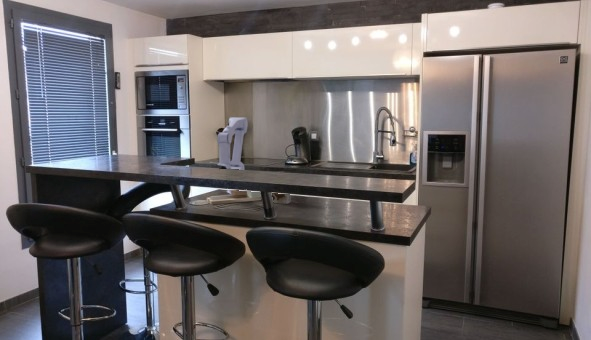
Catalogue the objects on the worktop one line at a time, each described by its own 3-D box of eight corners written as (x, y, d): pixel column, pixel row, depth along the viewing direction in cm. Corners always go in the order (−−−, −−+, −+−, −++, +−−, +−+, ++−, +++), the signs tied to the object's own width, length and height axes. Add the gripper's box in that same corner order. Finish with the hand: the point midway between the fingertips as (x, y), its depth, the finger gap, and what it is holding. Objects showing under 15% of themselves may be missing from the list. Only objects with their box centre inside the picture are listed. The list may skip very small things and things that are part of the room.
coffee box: (270, 202, 236) (270, 172, 234) (275, 200, 242) (275, 170, 240) (287, 204, 233) (287, 173, 231) (291, 201, 239) (291, 171, 237)
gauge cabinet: (246, 194, 248) (246, 187, 248) (258, 193, 251) (258, 186, 250) (251, 197, 241) (251, 190, 240) (263, 196, 244) (263, 189, 243)
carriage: (231, 196, 243) (231, 182, 242) (243, 194, 246) (243, 182, 245) (234, 198, 238) (234, 184, 237) (247, 197, 241) (247, 183, 240)
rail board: (206, 200, 240) (206, 195, 240) (259, 195, 253) (259, 190, 252) (211, 204, 231) (211, 198, 231) (266, 199, 244) (266, 194, 243)
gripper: (213, 154, 244) (214, 178, 247) (221, 157, 231) (221, 183, 234) (226, 153, 247) (226, 177, 250) (234, 156, 234) (234, 182, 237)
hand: (225, 180), depth 242 cm, fingers closed
